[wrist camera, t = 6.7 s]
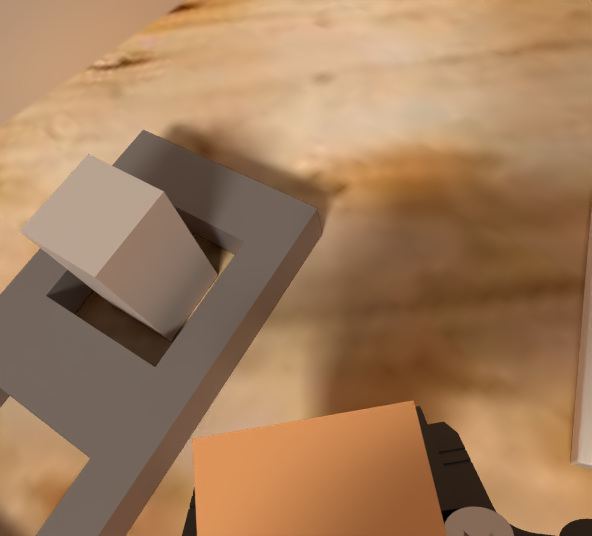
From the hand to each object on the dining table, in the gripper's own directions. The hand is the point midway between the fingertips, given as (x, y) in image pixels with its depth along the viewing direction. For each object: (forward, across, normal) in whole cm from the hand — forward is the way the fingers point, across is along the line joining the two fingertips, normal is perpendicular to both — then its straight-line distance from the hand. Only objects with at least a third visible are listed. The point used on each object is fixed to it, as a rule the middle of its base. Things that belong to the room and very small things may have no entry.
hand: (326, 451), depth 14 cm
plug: (+2, 0, +5) cm, 5 cm away
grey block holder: (+9, +11, +2) cm, 14 cm away
